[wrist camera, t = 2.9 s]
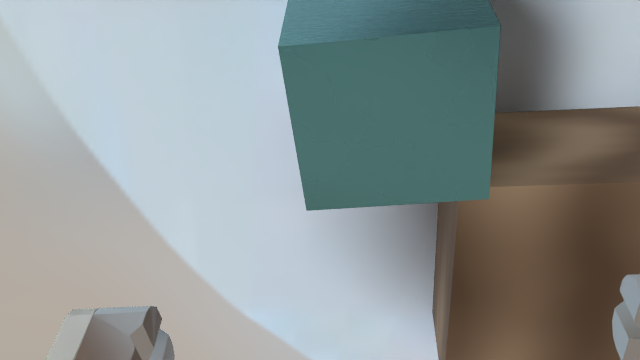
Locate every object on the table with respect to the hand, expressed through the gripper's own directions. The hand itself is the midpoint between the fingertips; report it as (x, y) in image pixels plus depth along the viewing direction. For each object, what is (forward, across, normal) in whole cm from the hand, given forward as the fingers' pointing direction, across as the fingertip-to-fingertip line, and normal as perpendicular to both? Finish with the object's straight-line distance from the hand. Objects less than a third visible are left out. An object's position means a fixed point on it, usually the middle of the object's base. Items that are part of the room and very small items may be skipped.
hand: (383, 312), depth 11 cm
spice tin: (+14, -1, 0) cm, 14 cm away
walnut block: (+14, -9, +11) cm, 20 cm away
